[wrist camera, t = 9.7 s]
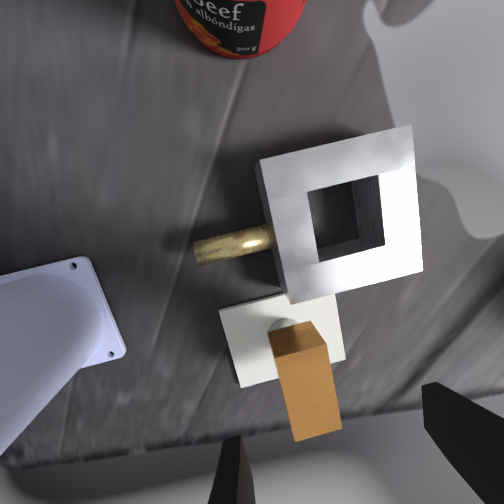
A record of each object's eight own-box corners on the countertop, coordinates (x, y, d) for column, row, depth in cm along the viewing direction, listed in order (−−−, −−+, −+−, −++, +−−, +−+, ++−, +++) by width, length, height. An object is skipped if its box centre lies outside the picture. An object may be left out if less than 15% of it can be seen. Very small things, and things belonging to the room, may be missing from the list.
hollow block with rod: (217, 303, 18) (214, 325, 15) (182, 185, 16) (171, 180, 13) (390, 259, 18) (422, 270, 15) (377, 139, 16) (411, 124, 13)
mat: (240, 384, 20) (241, 388, 19) (219, 309, 18) (219, 312, 18) (343, 356, 20) (345, 359, 19) (330, 280, 18) (332, 282, 18)
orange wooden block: (308, 359, 19) (342, 428, 13) (275, 368, 19) (295, 441, 13) (295, 297, 18) (326, 344, 12) (259, 307, 18) (274, 358, 12)
